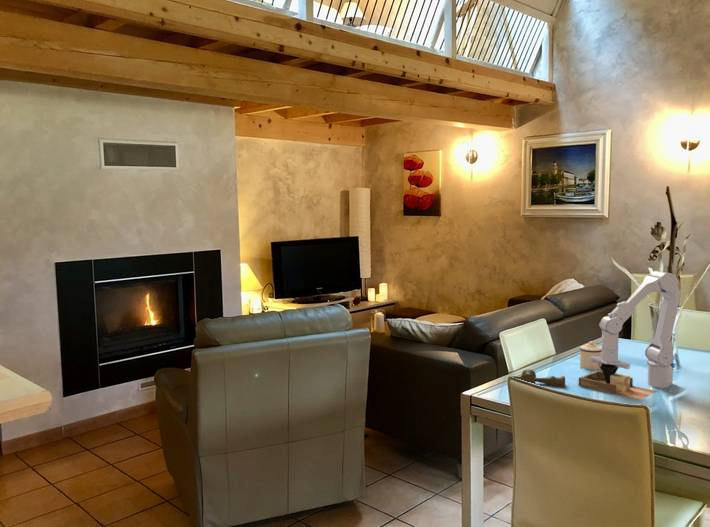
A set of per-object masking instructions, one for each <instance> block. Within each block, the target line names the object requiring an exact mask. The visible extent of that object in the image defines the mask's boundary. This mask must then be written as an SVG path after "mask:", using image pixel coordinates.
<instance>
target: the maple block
mask: <svg viewBox="0 0 710 527" xmlns="http://www.w3.org/2000/svg"><path fill="white" fill-rule="evenodd" d="M630 378H631V375H628V374H624V373H618V372H616V373H615V374H613V375H610V384H613V385H616V390H618V391H622V392H624V391H626V390H628V389H630Z"/></svg>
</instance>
